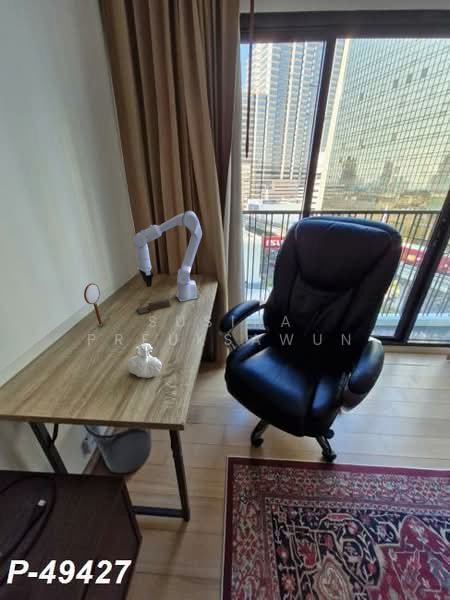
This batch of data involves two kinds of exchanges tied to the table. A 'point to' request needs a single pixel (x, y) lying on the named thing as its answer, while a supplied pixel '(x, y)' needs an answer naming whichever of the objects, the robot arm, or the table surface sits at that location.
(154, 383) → the table surface
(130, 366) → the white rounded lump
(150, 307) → the spatula
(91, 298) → the magnifying glass
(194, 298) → the robot arm
